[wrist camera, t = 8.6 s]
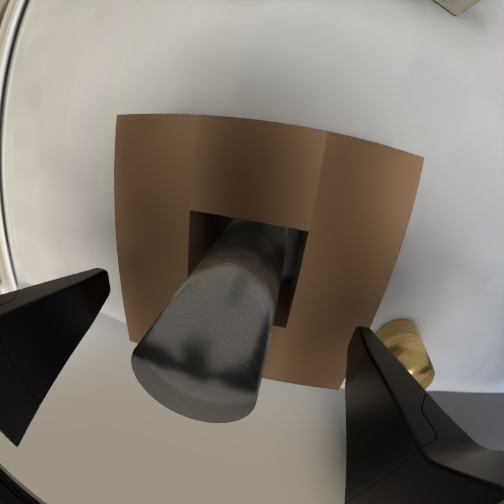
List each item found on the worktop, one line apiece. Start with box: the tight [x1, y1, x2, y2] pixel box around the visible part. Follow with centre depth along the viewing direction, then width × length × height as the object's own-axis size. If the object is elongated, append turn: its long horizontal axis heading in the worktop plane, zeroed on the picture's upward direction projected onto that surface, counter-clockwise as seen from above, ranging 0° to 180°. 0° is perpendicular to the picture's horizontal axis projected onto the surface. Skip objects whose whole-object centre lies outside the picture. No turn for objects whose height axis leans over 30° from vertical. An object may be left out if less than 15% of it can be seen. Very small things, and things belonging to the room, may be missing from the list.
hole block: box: [114, 114, 424, 390], centre depth 13 cm, size 12×12×4 cm
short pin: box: [375, 319, 435, 389], centre depth 14 cm, size 3×3×4 cm
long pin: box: [131, 218, 288, 423], centre depth 11 cm, size 3×3×10 cm
